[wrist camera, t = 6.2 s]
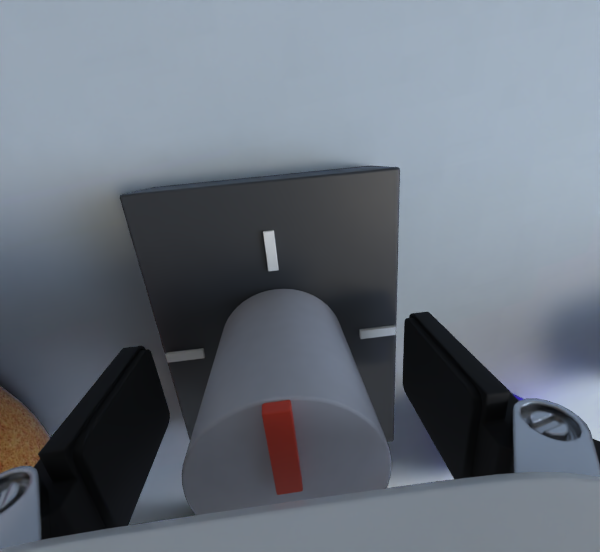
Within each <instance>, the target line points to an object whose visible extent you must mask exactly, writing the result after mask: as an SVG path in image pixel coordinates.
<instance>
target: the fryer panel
mask: <svg viewBox="0 0 600 552" xmlns="http://www.w3.org/2000/svg"><path fill="white" fill-rule="evenodd" d="M399 185H400V169H399V168H398V167H383V166H365V167H355V168H345V169H334V170H324V171H314V172H304V173H294V174H283V175H273V176H263V177H253V178H243V179H233V180H222V181H212V182H202V183H192V184H182V185H171V186H161V187H153V188H148V189H144V190H140V191H135V192H131V193H126V194H122V195H120V200H121V203H122V207H123V210H124V214H125V217H126V221H127V224H128V228H129V231H130V235H131V238H132V241H133V245H134V248H135V252H136V255H137V259H138V262H139V266H140V269H141V273H142V276H143V279H144V283H145V286H146V290H147V293H148V297H149V300H150V304H151V307H152V310H153V314H154V317H155V321H156V324H157V328H158V331H159V335H160V338H161V342H162V345H163V348H164V352H165V356H166V360H167V363H168V366H169V369H170V373H171V376H172V379H173V383H174V386H175V390H176V393H177V397H178V400H179V404H180V407H181V411H182V414H183V417H184V421H185V424H186V428H187V431H188V435H189V438H190V440H191V436H192V433H193V430H194V426H195V423H196V420H197V416H198V413H199V409H200V406H201V403H202V399H203V396H204V393H205V389H206V386H207V383H208V379H209V376H210V373H211V369H212V366H213V363H214V359H215V356H216V353H217V349H218V346H219V342H220V339H221V336H222V332H223V329H224V326H225V324H226V322H227V320H228V318H229V316H230V315H231V314H232V312H233V311H234V310H235V309H236V308H237V307H238V306H239V305H240V304H241V303H242V302H244V301H245V300H247V299H248V298H250V297H252V296H254V295H256V294H258V293H261V292H265V291H268V290H274V289H294V290H299V291H303V292H306V293H309V294H311V295H313V296H315V297H317V298H318V299H320V300H322V301H323V302H324V303H325V304H326V305H328V307H329V308H330V309H331V310H332V311H333V313H334V314H335V316H336V317H337V319H338V321H339V324H340V326H341V328H342V331H343V333H344V336H345V338H346V341H347V343H348V346H349V348H350V351H351V353H352V356H353V358H354V361H355V363H356V366H357V368H358V371H359V373H360V376H361V378H362V381H363V383H364V386H365V388H366V391H367V393H368V396H369V398H370V401H371V403H372V406H373V408H374V410H375V413H376V415H377V418H378V420H379V423H380V425H381V428H382V430H383V433H384V435H385V438H386V440H387V442H391V441H393V439H394V397H395V354H396V312H397V269H398V227H399Z"/></svg>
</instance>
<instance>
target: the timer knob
mask: <svg viewBox="0 0 600 552" xmlns="http://www.w3.org/2000/svg"><path fill="white" fill-rule="evenodd" d="M390 475H391V453H390V449H389V446H388V443H387V440H386V438H385V435H384V433H383V430H382V428H381V425H380V423H379V420H378V418H377V415H376V413H375V410H374V408H373V406H372V403H371V401H370V398H369V396H368V393H367V391H366V388H365V386H364V383H363V381H362V378H361V376H360V373H359V371H358V368H357V366H356V363H355V361H354V358H353V356H352V353H351V351H350V348H349V346H348V343H347V341H346V338H345V336H344V333H343V331H342V328H341V326H340V324H339V321H338V319H337V317H336V316H335V314H334V313H333V311H332V310H331V309H330V308H329V307H328V305H326V304H325V303H324V302H323V301H322V300H320V299H318V298H317V297H315V296H313V295H311V294H309V293H306V292H303V291H299V290H294V289H274V290H268V291H265V292H261V293H258V294H256V295H254V296H252V297H250V298H248V299H247V300H245V301H244V302H242V303H241V304H240V305H239V306H238V307H237V308H236V309H235V310H234V311H233V312H232V314H231V315H230V316H229V318H228V320H227V322H226V324H225V326H224V329H223V332H222V336H221V339H220V342H219V346H218V349H217V353H216V356H215V359H214V363H213V366H212V369H211V373H210V376H209V379H208V383H207V386H206V389H205V393H204V396H203V399H202V403H201V406H200V409H199V413H198V416H197V420H196V423H195V426H194V430H193V433H192V436H191V440H190V443H189V446H188V450H187V453H186V456H185V460H184V463H183V469H182V485H183V490H184V494H185V497H186V500H187V502H188V504H189V506H190V507H191V509H192V510H193V512H194V513H195V515H202V514H208V513H215V512H222V511H229V510H236V509H243V508H250V507H257V506H264V505H271V504H278V503H285V502H292V501H299V500H306V499H313V498H320V497H327V496H334V495H341V494H348V493H356V492H363V491H370V490H378V489H385V488H387V485H388V482H389V479H390Z"/></svg>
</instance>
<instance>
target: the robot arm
mask: <svg viewBox="0 0 600 552" xmlns="http://www.w3.org/2000/svg"><path fill="white" fill-rule="evenodd" d="M403 387H404V391H405V393H406V395H407V396H408V398H409V400H410V402H411V403H412V405H413V407H414V409H415V411H416V412H417V414H418V416H419V418H420V419H421V421H422V423H423V425H424V426H425V428H426V430H427V432H428V433H429V435H430V437H431V439H432V441H433V442H434V444H435V446H436V448H437V449H438V451H439V453H440V455H441V456H442V458H443V460H444V462H445V463H446V465H447V467H448V469H449V471H450V472H451V474H452V476H453V478H454V479H453V480H445V481H436V482H429V483H422V484H414V485H407V486H400V487H392V488H385V489H378V490H370V491H363V492H356V493H348V494H341V495H334V496H327V497H320V498H313V499H306V500H299V501H292V502H285V503H278V504H271V505H264V506H257V507H250V508H243V509H236V510H229V511H222V512H215V513H208V514H202V515H195V516H188V517H182V518H175V519H168V520H162V521H155V522H148V523H141V524H135V525H128V524H129V522H130V519H131V517H132V514H133V512H134V509H135V507H136V504H137V502H138V499H139V497H140V494H141V492H142V489H143V487H144V484H145V482H146V479H147V477H148V474H149V472H150V469H151V467H152V464H153V462H154V459H155V457H156V454H157V452H158V449H159V447H160V444H161V442H162V439H163V437H164V434H165V432H166V429H167V427H168V424H169V420H170V413H169V409H168V405H167V402H166V399H165V396H164V392H163V389H162V386H161V383H160V379H159V376H158V373H157V370H156V366H155V363H154V360H153V357H152V354H151V351H150V350H146V349H145V348H144V347H143V346H136V347H128V348H123V349H122V350H121V351H120V352H119V354H118V355H117V356H116V357H115V359H114V360H113V361H112V362H111V364H110V365H109V366H108V367H107V369H106V370H105V371H104V372H103V374H102V375H101V376H100V377H99V379H98V380H97V381H96V382H95V384H94V385H93V386H92V387H91V389H90V390H89V391H88V392H87V393H86V395H85V396H84V397H83V398H82V400H81V401H80V402H79V403H78V405H77V406H76V407H75V408H74V410H73V411H72V412H71V413H70V415H69V416H68V417H67V418H66V420H65V421H64V422H63V423H62V425H61V426H60V427H59V428H58V430H57V431H56V432H55V433H54V435H53V436H52V437H51V438H50V439H49V441H48V442H47V443H46V444H45V446H44V447H43V448H42V449H41V451H40V452H39V453H38V455H39V457H40V459H39V461H38V462H37V463H36V465H35V466H34V467H32V466H19V467H15V468H11V469H9V470H7V471H4V472H2V473H0V552H600V441H597V440H594V439H592V435H591V432H590V430H589V428H588V426H587V424H586V423H585V422H584V421H583V420H582V419H581V418H580V417H579V416H577V415H576V414H575V413H573V412H572V411H570V410H569V409H567V408H565V407H563V406H561V405H559V404H556V403H553V402H550V401H547V400H541V399H524V400H520V401H519V400H518V399H517V398H516V397H515V396H514V395H513V394H512V393H511V392H510V391H509V390H508V389H507V388H506V387H505V386H504V385H503V384H502V383H501V382H500V381H499V380H498V379H497V378H496V377H495V376H494V375H493V374H492V373H491V372H490V371H488V370H487V369H486V368H485V367H484V366H483V365H482V364H481V363H480V362H479V361H478V360H477V359H476V358H475V357H474V356H473V355H472V354H471V353H470V352H469V351H468V350H467V349H466V348H465V347H464V346H463V345H462V344H461V343H460V342H459V341H458V340H457V339H456V338H455V337H454V336H453V335H452V334H451V333H450V332H449V331H448V330H447V329H446V328H445V327H444V326H443V325H441V324H440V323H439V322H438V321H437V320H436V319H435V318H434V317H433V316H432V315H431V314H430V313H429V312H421V313H413V314H411V315H410V317H409V318H406V319H405V326H404V356H403Z"/></svg>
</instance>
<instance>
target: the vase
mask: <svg viewBox="0 0 600 552" xmlns="http://www.w3.org/2000/svg"><path fill="white" fill-rule="evenodd" d="M49 439H50V436H49V434H48V432H47V431H46V429H45V428H44V427H43V425H42V424H41V422H40V421H39V420H38V419H37V417H36V416H35V415H34V414H33V413H32V412H31V411H30V410H29V409H28V408H27V407H26V406H25V405H24V404H23V403H22V402H21V401H20V400H19V399H17V398H16V397H15V396H14V395H13V394H11V393H10V392H8V391H7V390H6V389H4V388H3V387H1V386H0V473H2V472H4V471H7V470H9V469H11V468H15V467H19V466H32V467H34V466H35V465H36V463H37V462H38V461H39V459H40V457H39V455H38V453H39V452H40V451H41V449H42V448H43V447H44V446H45V444H46V443H47V442H48V441H49Z"/></svg>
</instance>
